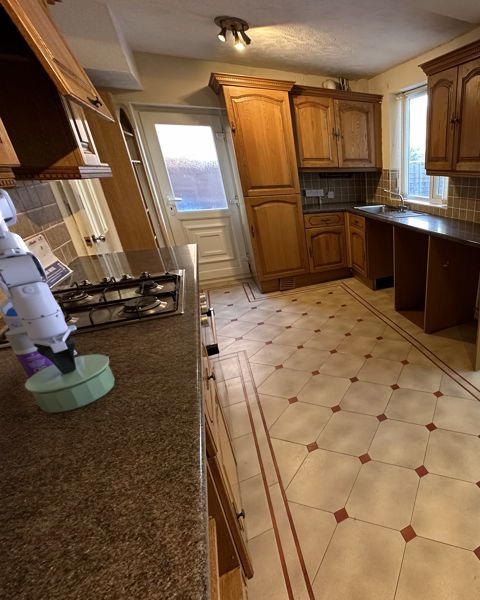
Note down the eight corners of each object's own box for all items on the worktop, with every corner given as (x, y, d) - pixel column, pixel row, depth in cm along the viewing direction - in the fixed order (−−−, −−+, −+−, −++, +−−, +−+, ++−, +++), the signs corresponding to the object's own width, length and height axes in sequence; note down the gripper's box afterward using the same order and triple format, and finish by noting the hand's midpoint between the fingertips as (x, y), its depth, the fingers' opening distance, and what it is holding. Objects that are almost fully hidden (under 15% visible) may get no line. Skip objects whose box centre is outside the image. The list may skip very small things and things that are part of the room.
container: (45, 392, 74) (14, 336, 69) (30, 390, 75) (-3, 334, 69) (68, 380, 79) (40, 326, 73) (53, 378, 80) (24, 324, 74)
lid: (22, 379, 71) (12, 362, 69) (101, 352, 81) (93, 336, 79) (33, 404, 63) (22, 384, 62) (118, 370, 73) (111, 353, 72)
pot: (35, 397, 73) (25, 379, 71) (106, 370, 82) (98, 354, 80) (47, 421, 66) (36, 402, 64) (122, 388, 75) (114, 371, 73)
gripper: (74, 315, 65) (100, 371, 70) (59, 300, 73) (82, 351, 78) (24, 329, 60) (55, 388, 65) (13, 310, 68) (42, 364, 73)
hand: (67, 369), depth 71 cm, fingers closed on lid, 2 cm apart
